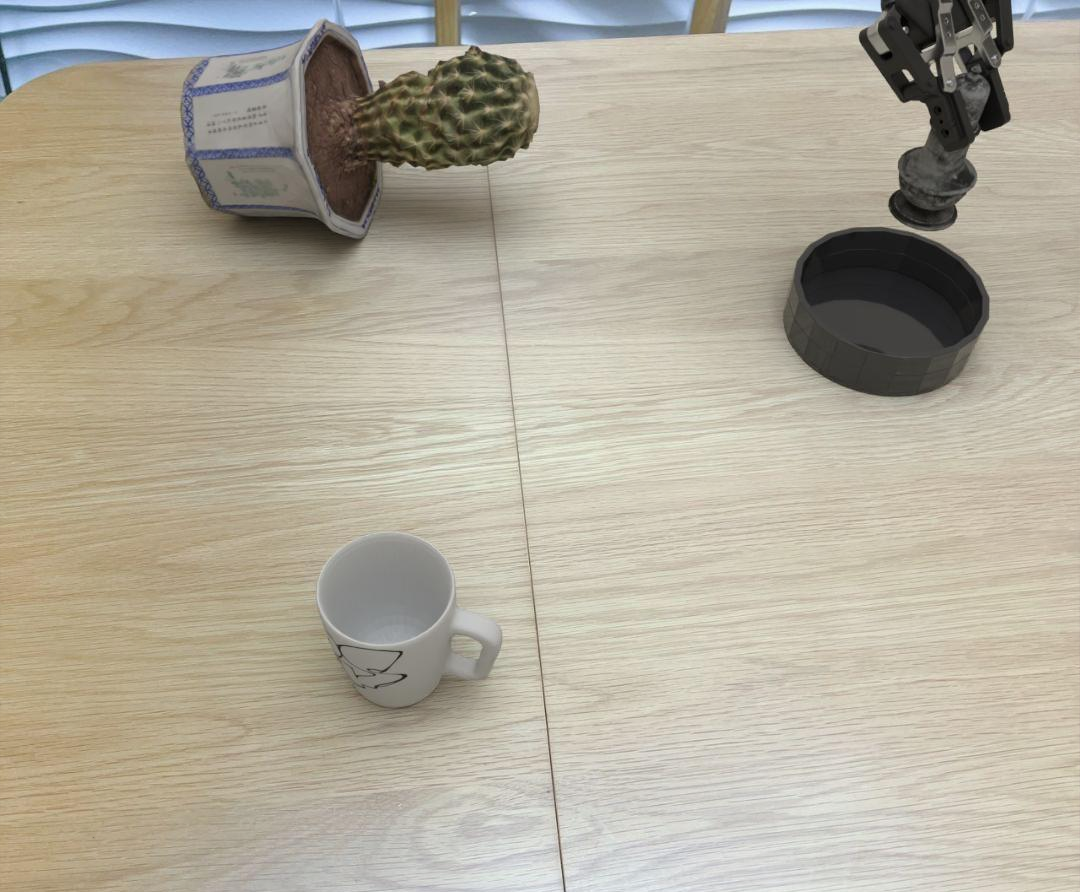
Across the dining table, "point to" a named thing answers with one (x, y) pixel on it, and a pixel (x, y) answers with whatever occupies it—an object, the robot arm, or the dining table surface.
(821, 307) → the pan
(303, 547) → the dining table surface
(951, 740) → the dining table surface
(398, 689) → the mug
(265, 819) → the dining table surface
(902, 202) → the grey chess piece
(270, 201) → the potted plant
